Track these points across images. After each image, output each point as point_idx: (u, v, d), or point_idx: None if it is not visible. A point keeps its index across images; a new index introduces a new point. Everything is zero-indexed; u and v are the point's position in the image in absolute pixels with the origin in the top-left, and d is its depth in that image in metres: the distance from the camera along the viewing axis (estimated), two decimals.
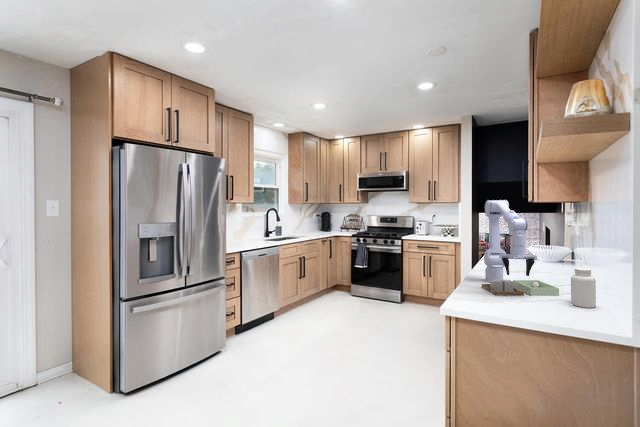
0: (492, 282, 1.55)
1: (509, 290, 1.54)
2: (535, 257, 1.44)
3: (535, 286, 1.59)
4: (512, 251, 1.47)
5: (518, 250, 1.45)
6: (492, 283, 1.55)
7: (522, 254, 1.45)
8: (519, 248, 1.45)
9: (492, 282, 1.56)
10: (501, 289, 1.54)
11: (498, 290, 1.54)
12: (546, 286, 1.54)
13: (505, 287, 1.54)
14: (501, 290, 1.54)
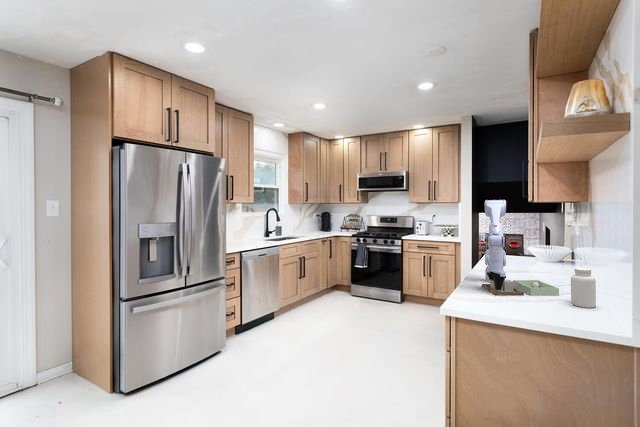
0: (492, 282, 1.55)
1: (509, 290, 1.54)
2: (500, 273, 1.49)
3: (535, 286, 1.59)
4: None
5: (489, 264, 1.56)
6: (492, 283, 1.55)
7: (492, 268, 1.55)
8: (490, 262, 1.56)
9: (492, 282, 1.56)
10: (501, 289, 1.54)
11: (498, 290, 1.54)
12: (546, 286, 1.54)
13: (505, 287, 1.54)
14: (501, 290, 1.54)
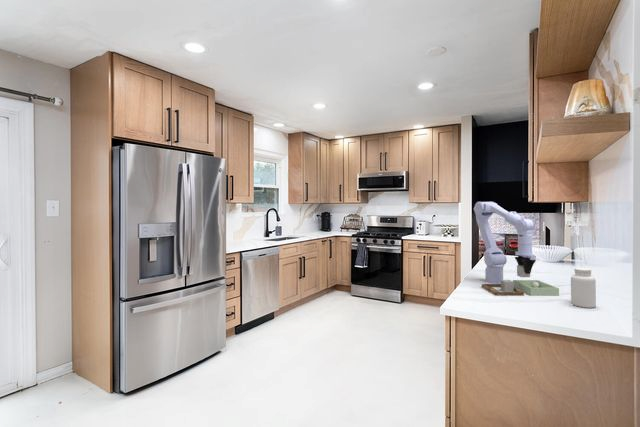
0: (519, 267, 1.56)
1: (509, 290, 1.54)
2: (530, 257, 1.50)
3: (535, 286, 1.59)
4: None
5: (518, 248, 1.57)
6: (520, 269, 1.56)
7: (521, 252, 1.55)
8: (519, 246, 1.57)
9: (519, 268, 1.57)
10: (529, 274, 1.55)
11: (526, 275, 1.55)
12: (546, 286, 1.54)
13: (505, 287, 1.54)
14: (529, 275, 1.55)
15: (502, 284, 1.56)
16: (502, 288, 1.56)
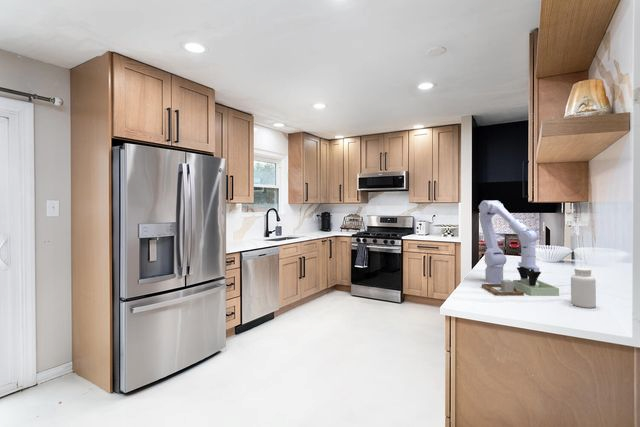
0: (523, 280, 1.57)
1: (509, 290, 1.54)
2: (534, 269, 1.50)
3: (535, 286, 1.59)
4: None
5: (522, 259, 1.57)
6: (523, 282, 1.56)
7: (524, 264, 1.56)
8: (522, 257, 1.57)
9: (523, 281, 1.57)
10: None
11: None
12: (546, 286, 1.54)
13: (505, 287, 1.54)
14: None
15: (502, 284, 1.56)
16: (502, 288, 1.56)
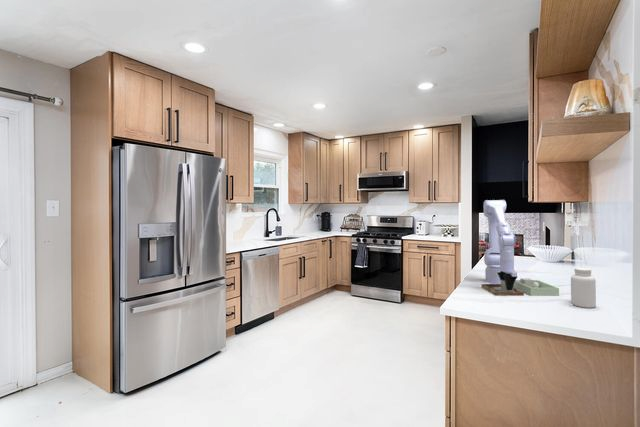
0: (523, 280, 1.57)
1: (509, 290, 1.54)
2: (511, 273, 1.49)
3: (535, 286, 1.59)
4: None
5: (500, 264, 1.56)
6: (523, 282, 1.56)
7: (503, 268, 1.54)
8: (501, 262, 1.55)
9: (523, 281, 1.57)
10: None
11: None
12: (546, 286, 1.54)
13: (505, 287, 1.54)
14: None
15: (502, 284, 1.56)
16: (502, 288, 1.56)
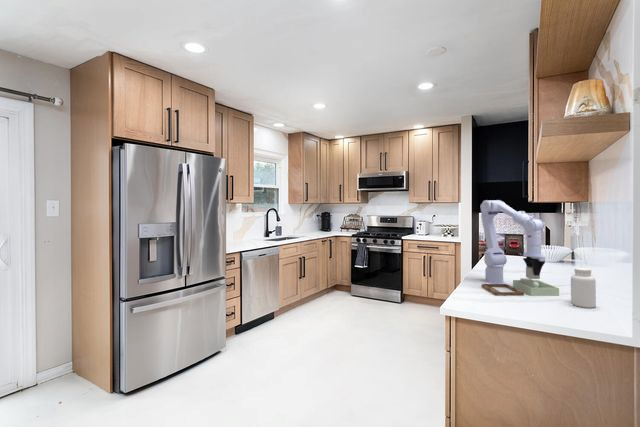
0: (523, 280, 1.57)
1: (535, 277, 1.51)
2: (539, 258, 1.46)
3: (535, 286, 1.59)
4: None
5: (527, 249, 1.53)
6: (523, 282, 1.56)
7: (530, 253, 1.51)
8: (527, 247, 1.52)
9: (523, 281, 1.57)
10: None
11: None
12: (546, 286, 1.54)
13: (531, 274, 1.51)
14: None
15: (528, 271, 1.53)
16: (528, 275, 1.53)
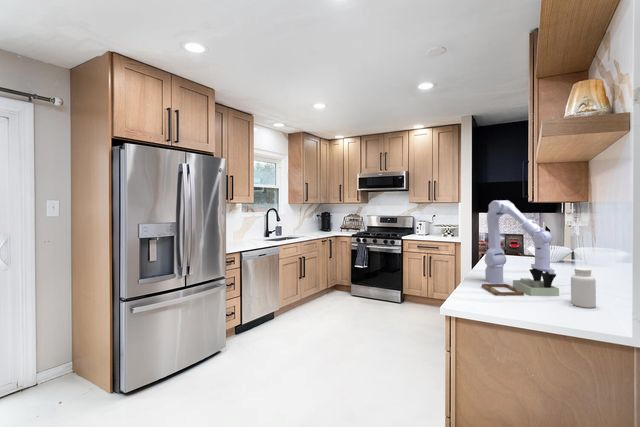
0: (523, 280, 1.57)
1: None
2: (548, 271, 1.45)
3: None
4: None
5: (535, 261, 1.52)
6: (523, 282, 1.56)
7: (538, 266, 1.50)
8: (536, 259, 1.52)
9: (523, 281, 1.57)
10: None
11: None
12: None
13: None
14: None
15: (536, 285, 1.52)
16: None
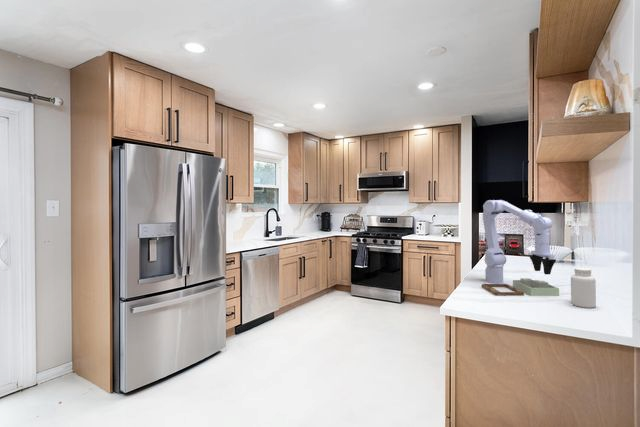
0: (523, 280, 1.57)
1: None
2: (548, 256, 1.45)
3: None
4: None
5: (535, 247, 1.52)
6: (523, 282, 1.56)
7: (538, 252, 1.50)
8: (536, 245, 1.52)
9: (523, 281, 1.57)
10: None
11: None
12: None
13: None
14: None
15: (536, 285, 1.52)
16: None
